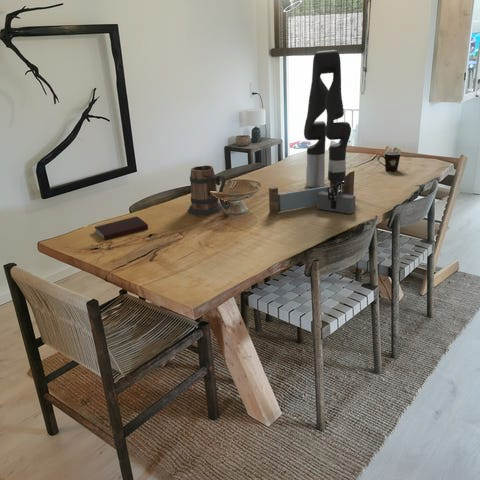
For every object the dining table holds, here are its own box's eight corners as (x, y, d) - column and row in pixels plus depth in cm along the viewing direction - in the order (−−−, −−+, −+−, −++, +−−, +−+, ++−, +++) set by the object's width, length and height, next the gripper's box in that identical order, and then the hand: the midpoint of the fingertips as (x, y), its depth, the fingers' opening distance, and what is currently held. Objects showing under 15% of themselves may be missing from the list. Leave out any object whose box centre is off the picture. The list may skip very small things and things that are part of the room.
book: (148, 230, 203) (147, 223, 201) (104, 241, 193) (103, 234, 192) (137, 222, 212) (136, 215, 211) (95, 233, 203) (93, 225, 202)
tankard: (180, 212, 221) (175, 170, 213) (201, 202, 234) (198, 162, 226) (221, 219, 209) (218, 175, 201) (241, 208, 222) (239, 166, 214)
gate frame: (269, 213, 214) (268, 187, 209) (335, 201, 225) (335, 176, 220) (272, 215, 211) (271, 189, 207) (338, 203, 222) (339, 178, 217)
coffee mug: (401, 169, 273) (402, 152, 269) (396, 173, 266) (398, 155, 262) (380, 167, 279) (382, 150, 275) (376, 171, 272) (377, 153, 268)
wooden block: (348, 201, 224) (350, 164, 217) (330, 197, 231) (331, 160, 224) (353, 199, 226) (355, 162, 219) (335, 195, 234) (336, 159, 227)
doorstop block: (317, 208, 215) (317, 193, 212) (321, 205, 218) (321, 191, 215) (350, 213, 206) (351, 198, 204) (354, 210, 210) (355, 195, 207)
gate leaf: (275, 210, 215) (275, 193, 212) (328, 201, 224) (328, 185, 221) (278, 212, 213) (277, 195, 210) (331, 202, 221) (331, 186, 218)
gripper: (335, 164, 213) (334, 200, 219) (321, 172, 202) (321, 210, 208) (351, 166, 209) (349, 203, 215) (338, 174, 198) (337, 212, 204)
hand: (335, 206), depth 212 cm, fingers closed on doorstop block, 4 cm apart
